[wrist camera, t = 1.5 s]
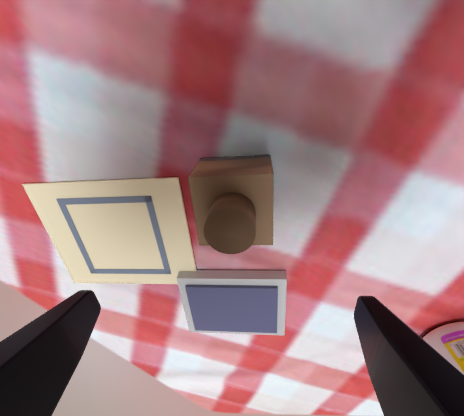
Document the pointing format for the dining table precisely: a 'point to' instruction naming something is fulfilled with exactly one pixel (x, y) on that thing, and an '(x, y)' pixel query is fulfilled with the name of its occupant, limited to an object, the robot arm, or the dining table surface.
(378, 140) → the dining table surface
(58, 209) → the sheet
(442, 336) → the supplement bottle
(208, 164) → the stamp
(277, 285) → the ink pad
